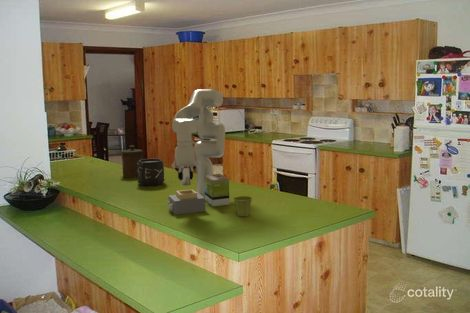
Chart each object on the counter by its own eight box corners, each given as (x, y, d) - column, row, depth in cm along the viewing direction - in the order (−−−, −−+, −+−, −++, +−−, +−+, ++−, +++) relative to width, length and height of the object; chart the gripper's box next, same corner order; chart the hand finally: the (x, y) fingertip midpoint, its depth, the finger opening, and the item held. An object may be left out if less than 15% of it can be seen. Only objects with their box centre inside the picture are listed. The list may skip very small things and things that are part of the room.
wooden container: (131, 173, 370) (129, 143, 367) (148, 174, 364) (146, 144, 361) (118, 176, 357) (116, 146, 354) (135, 178, 351) (133, 146, 347)
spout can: (189, 183, 263) (188, 164, 261) (191, 185, 258) (191, 165, 257) (180, 184, 261) (179, 165, 260) (182, 185, 257) (181, 166, 255)
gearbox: (198, 205, 271) (197, 187, 270) (205, 211, 258) (205, 193, 257) (166, 208, 265) (165, 191, 264) (171, 215, 252) (171, 196, 251)
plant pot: (229, 215, 249) (229, 198, 248) (243, 211, 256) (242, 195, 254) (243, 218, 243) (242, 201, 241) (256, 214, 249) (256, 197, 248)
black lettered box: (132, 186, 323) (131, 162, 320) (144, 181, 340) (142, 158, 337) (158, 187, 318) (157, 163, 316) (169, 181, 336) (168, 158, 333)
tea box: (204, 200, 281) (203, 174, 279) (221, 198, 284) (220, 173, 282) (212, 206, 267) (211, 179, 265) (230, 204, 270) (229, 177, 268)
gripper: (198, 142, 263) (199, 176, 266) (166, 144, 257) (168, 179, 260) (202, 144, 256) (203, 179, 259) (169, 146, 250) (171, 182, 253)
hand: (185, 179), depth 259 cm, fingers closed on spout can, 4 cm apart
